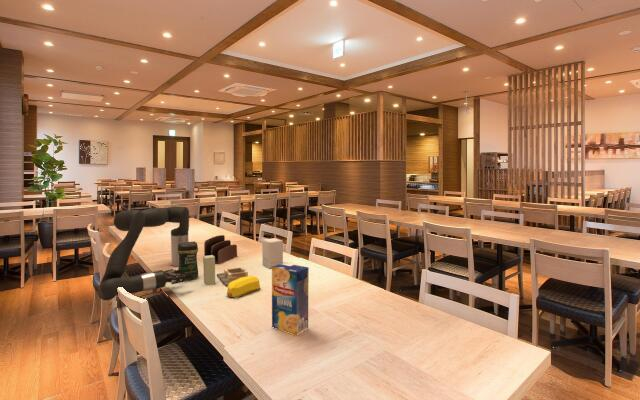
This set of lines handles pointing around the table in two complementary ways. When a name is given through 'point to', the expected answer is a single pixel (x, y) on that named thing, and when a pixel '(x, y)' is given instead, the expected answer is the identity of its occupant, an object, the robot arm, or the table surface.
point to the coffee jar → (188, 258)
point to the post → (209, 269)
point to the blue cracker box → (290, 297)
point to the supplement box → (272, 252)
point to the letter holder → (220, 249)
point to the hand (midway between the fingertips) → (188, 273)
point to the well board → (232, 275)
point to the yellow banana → (243, 286)
